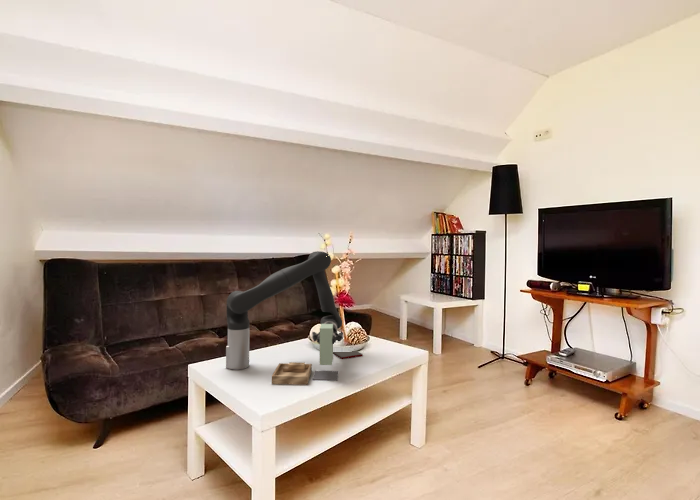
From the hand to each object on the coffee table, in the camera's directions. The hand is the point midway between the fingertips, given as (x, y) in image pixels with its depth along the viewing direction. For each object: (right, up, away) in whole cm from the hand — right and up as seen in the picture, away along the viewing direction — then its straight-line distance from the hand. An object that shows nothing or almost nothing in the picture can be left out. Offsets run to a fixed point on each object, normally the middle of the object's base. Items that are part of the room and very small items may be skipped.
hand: (326, 341), depth 156 cm
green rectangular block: (0, -9, +3) cm, 10 cm away
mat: (0, -15, +3) cm, 15 cm away
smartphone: (+5, -15, +39) cm, 42 cm away
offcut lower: (-14, -14, +5) cm, 20 cm away
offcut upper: (-13, -12, +5) cm, 18 cm away
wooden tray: (-14, -15, +1) cm, 20 cm away
